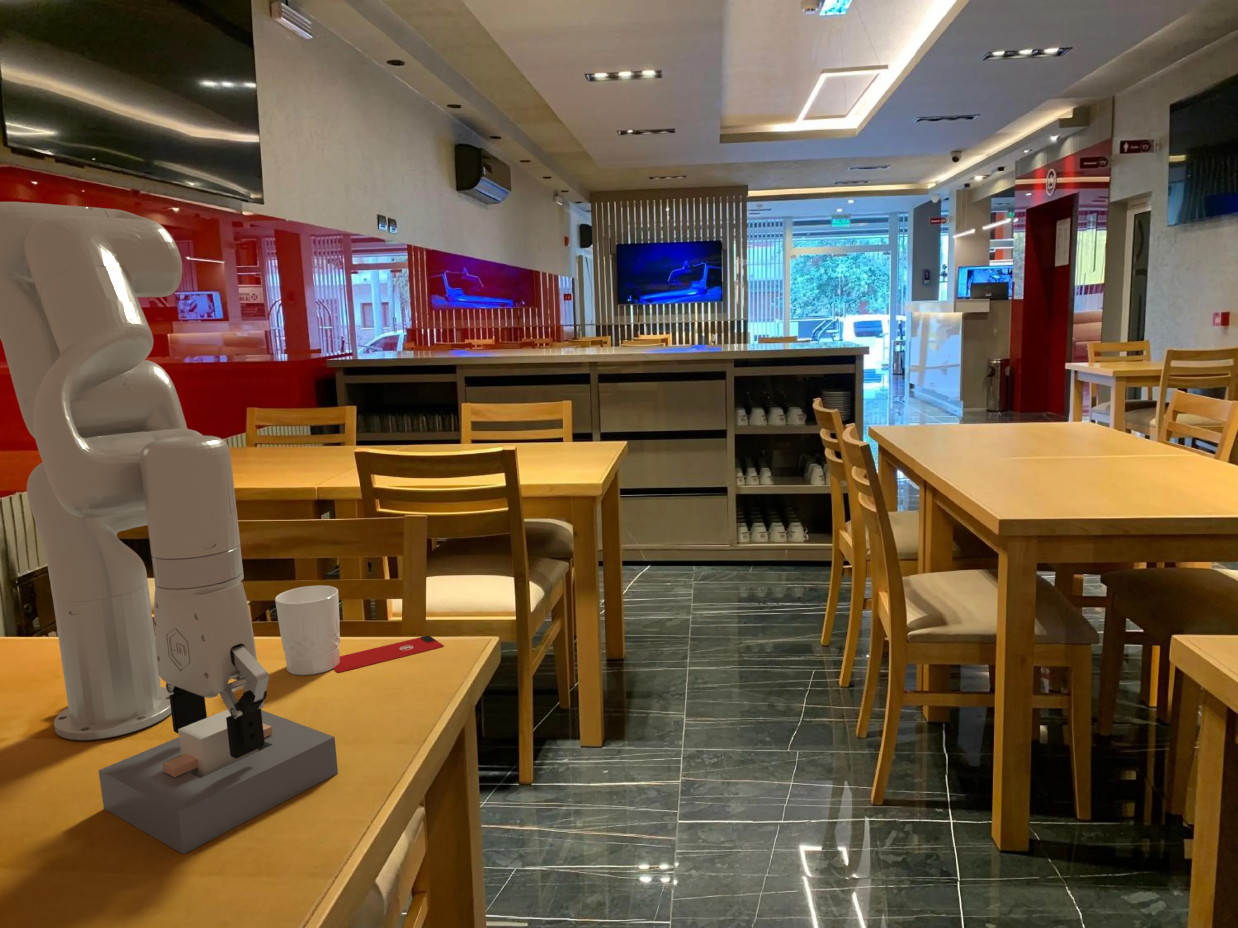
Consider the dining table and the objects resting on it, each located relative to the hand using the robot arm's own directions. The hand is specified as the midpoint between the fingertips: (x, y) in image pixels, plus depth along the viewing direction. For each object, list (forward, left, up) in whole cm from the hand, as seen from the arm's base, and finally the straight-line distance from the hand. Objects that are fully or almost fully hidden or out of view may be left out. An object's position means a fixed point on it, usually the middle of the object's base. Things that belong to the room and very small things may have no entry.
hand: (218, 739), depth 84 cm
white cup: (-20, +25, -6) cm, 32 cm away
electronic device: (-15, +33, -6) cm, 37 cm away
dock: (0, 0, -5) cm, 5 cm away
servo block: (0, 0, -4) cm, 4 cm away
